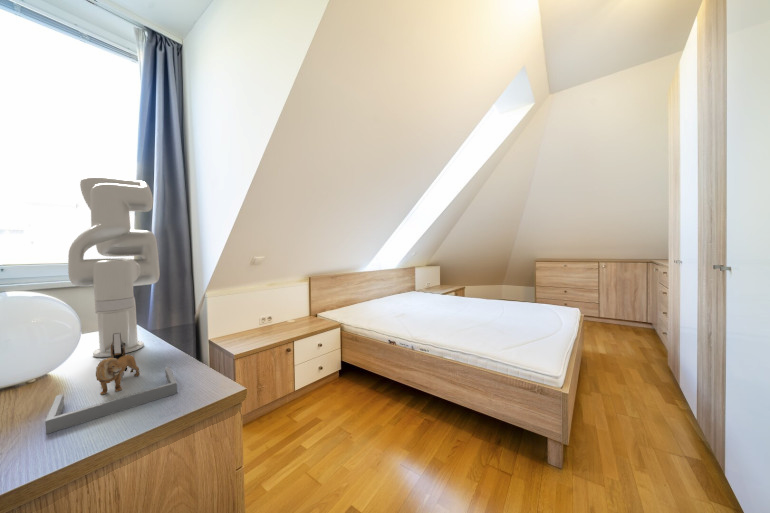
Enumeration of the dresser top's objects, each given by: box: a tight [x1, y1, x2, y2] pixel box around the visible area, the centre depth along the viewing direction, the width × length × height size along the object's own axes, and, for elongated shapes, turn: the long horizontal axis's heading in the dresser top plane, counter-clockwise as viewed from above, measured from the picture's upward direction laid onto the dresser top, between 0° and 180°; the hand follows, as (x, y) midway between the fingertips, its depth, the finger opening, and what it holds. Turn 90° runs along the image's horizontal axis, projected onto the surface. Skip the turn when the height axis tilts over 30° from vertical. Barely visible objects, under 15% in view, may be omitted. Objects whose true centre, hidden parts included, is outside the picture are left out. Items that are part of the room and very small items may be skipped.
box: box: [44, 366, 178, 435], centre depth 63 cm, size 13×20×2 cm, turn 134°
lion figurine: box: [95, 354, 140, 396], centre depth 70 cm, size 15×5×9 cm, turn 26°
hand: (119, 371), depth 75 cm, fingers closed
